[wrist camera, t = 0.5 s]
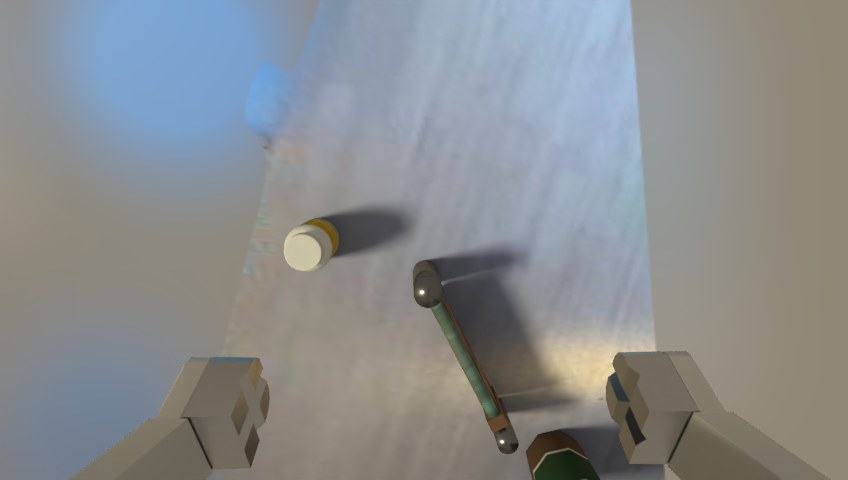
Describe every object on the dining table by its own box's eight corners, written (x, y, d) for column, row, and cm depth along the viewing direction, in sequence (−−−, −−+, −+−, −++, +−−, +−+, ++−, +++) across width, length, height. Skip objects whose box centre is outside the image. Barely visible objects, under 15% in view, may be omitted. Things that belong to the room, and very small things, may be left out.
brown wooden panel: (426, 292, 61) (428, 309, 54) (440, 285, 61) (444, 301, 54) (483, 402, 64) (493, 432, 57) (497, 396, 64) (508, 425, 56)
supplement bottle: (321, 268, 61) (305, 287, 52) (288, 240, 61) (266, 255, 51) (349, 237, 61) (338, 251, 51) (316, 208, 60) (299, 217, 51)
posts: (408, 267, 62) (408, 287, 52) (431, 256, 61) (435, 274, 52) (487, 418, 65) (501, 464, 55) (509, 408, 65) (526, 452, 55)
